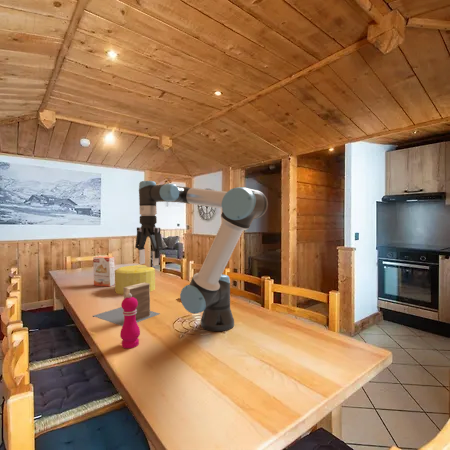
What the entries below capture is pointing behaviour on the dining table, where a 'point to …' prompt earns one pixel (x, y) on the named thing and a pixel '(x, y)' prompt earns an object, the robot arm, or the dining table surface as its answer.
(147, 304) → the brown wooden block
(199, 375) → the dining table surface
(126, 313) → the pepper mill
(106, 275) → the cracker box
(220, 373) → the dining table surface
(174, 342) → the dining table surface
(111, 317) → the mat
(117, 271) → the cheese
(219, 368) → the dining table surface
